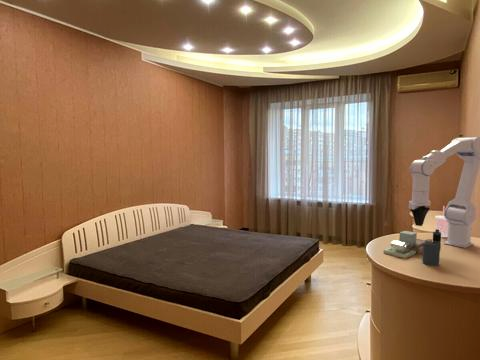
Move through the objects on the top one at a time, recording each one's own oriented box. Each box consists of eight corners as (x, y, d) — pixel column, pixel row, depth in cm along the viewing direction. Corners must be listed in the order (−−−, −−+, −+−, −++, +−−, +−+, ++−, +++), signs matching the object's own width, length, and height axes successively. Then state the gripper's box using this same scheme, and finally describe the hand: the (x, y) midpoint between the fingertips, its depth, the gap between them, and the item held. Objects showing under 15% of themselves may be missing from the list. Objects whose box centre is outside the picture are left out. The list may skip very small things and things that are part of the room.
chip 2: (399, 246, 126) (399, 240, 126) (410, 249, 123) (409, 243, 122) (394, 250, 124) (394, 244, 123) (405, 253, 121) (404, 247, 120)
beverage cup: (445, 238, 143) (447, 207, 141) (431, 235, 148) (433, 205, 147) (452, 237, 146) (454, 206, 144) (438, 233, 151) (440, 204, 150)
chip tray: (394, 248, 128) (394, 245, 128) (415, 253, 122) (416, 250, 121) (383, 253, 122) (383, 249, 122) (405, 258, 116) (405, 255, 116)
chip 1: (394, 240, 123) (390, 242, 121) (404, 242, 120) (401, 245, 118) (394, 249, 124) (391, 252, 122) (405, 252, 121) (402, 255, 119)
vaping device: (440, 265, 109) (443, 230, 108) (423, 264, 110) (425, 230, 109) (437, 263, 112) (439, 229, 110) (421, 262, 113) (423, 228, 112)
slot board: (409, 241, 138) (410, 235, 137) (434, 247, 130) (434, 239, 130) (393, 248, 129) (393, 240, 128) (418, 254, 121) (418, 246, 121)
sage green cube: (404, 243, 129) (405, 230, 128) (416, 245, 125) (416, 232, 125) (399, 245, 126) (399, 232, 126) (410, 247, 123) (411, 234, 122)
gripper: (418, 188, 133) (416, 221, 134) (401, 191, 124) (399, 226, 125) (437, 190, 127) (435, 224, 129) (420, 193, 119) (418, 229, 120)
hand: (418, 225), depth 127 cm, fingers closed
